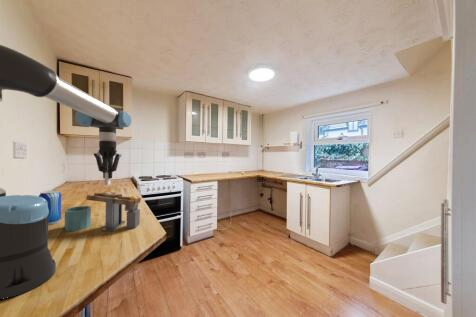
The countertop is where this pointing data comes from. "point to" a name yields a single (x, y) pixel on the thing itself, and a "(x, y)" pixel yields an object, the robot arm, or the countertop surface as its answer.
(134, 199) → the ball
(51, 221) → the beer can
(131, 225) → the block
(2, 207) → the robot arm
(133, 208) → the lever
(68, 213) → the teal beaker
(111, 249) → the countertop surface
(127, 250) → the countertop surface
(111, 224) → the stand
